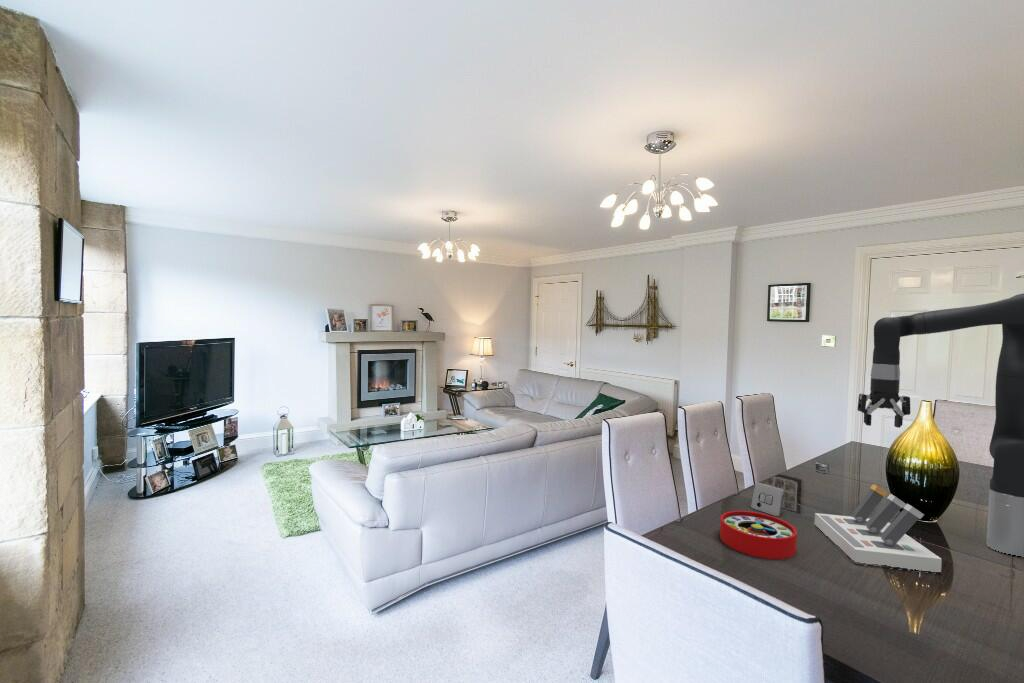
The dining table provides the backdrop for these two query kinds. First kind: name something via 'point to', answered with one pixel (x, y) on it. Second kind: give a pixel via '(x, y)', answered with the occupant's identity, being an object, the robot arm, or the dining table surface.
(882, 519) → the breaker mid
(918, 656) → the dining table surface
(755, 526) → the toy clock
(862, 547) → the panel
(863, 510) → the lever
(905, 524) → the lever
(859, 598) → the dining table surface
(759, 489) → the electrical switch
